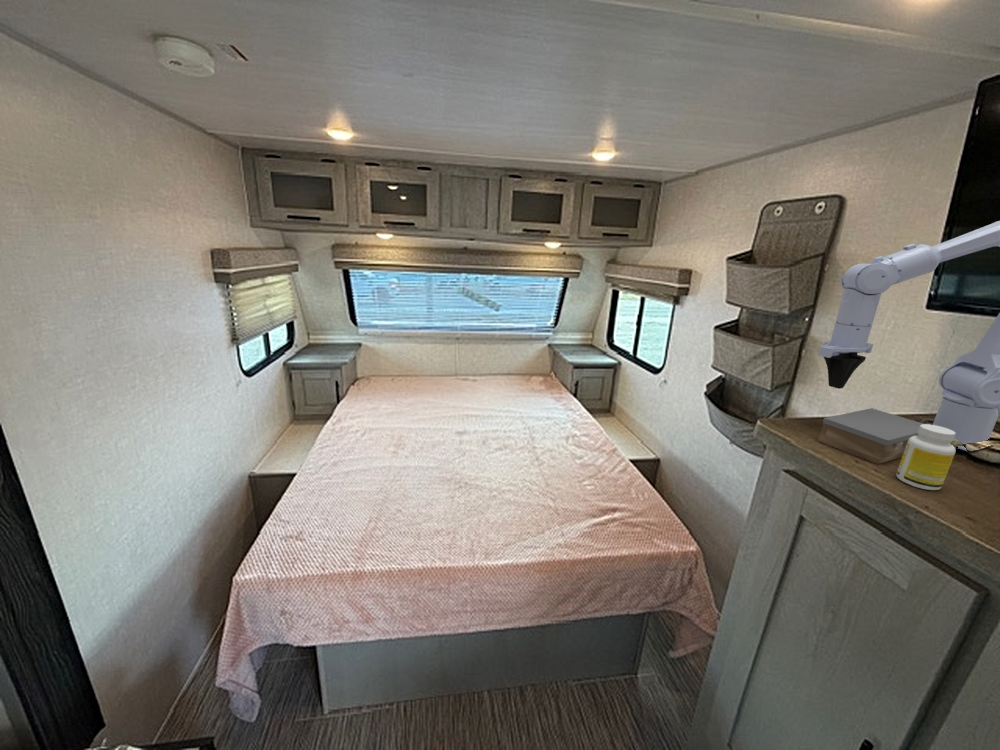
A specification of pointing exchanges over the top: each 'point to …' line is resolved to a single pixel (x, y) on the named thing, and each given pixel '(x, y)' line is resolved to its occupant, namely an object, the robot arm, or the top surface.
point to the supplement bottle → (927, 457)
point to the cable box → (861, 445)
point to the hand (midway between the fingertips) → (835, 387)
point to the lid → (876, 425)
